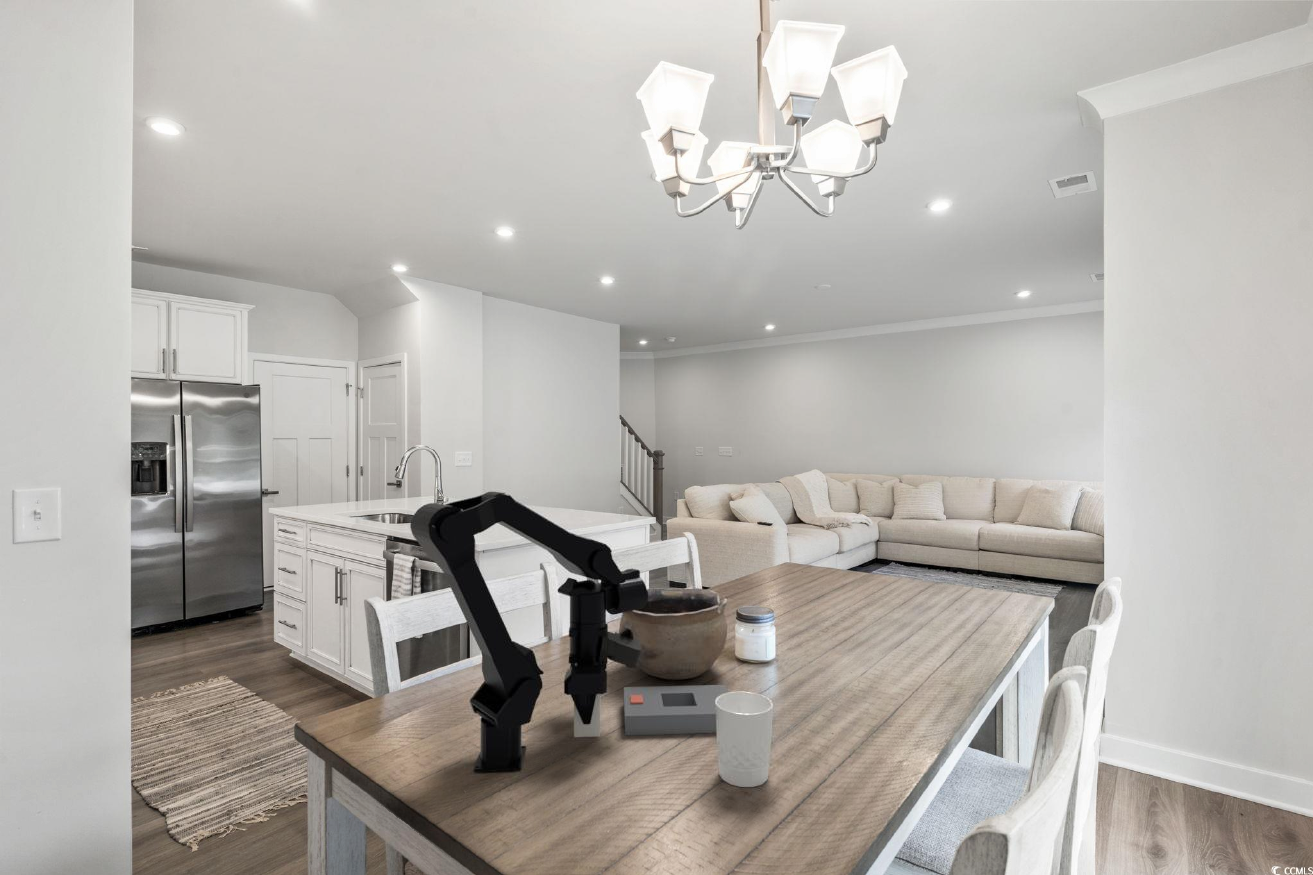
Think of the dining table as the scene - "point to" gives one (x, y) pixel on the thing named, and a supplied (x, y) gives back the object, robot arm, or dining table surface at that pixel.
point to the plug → (591, 728)
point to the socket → (671, 709)
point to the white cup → (743, 737)
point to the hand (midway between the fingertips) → (587, 718)
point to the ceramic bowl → (678, 631)
